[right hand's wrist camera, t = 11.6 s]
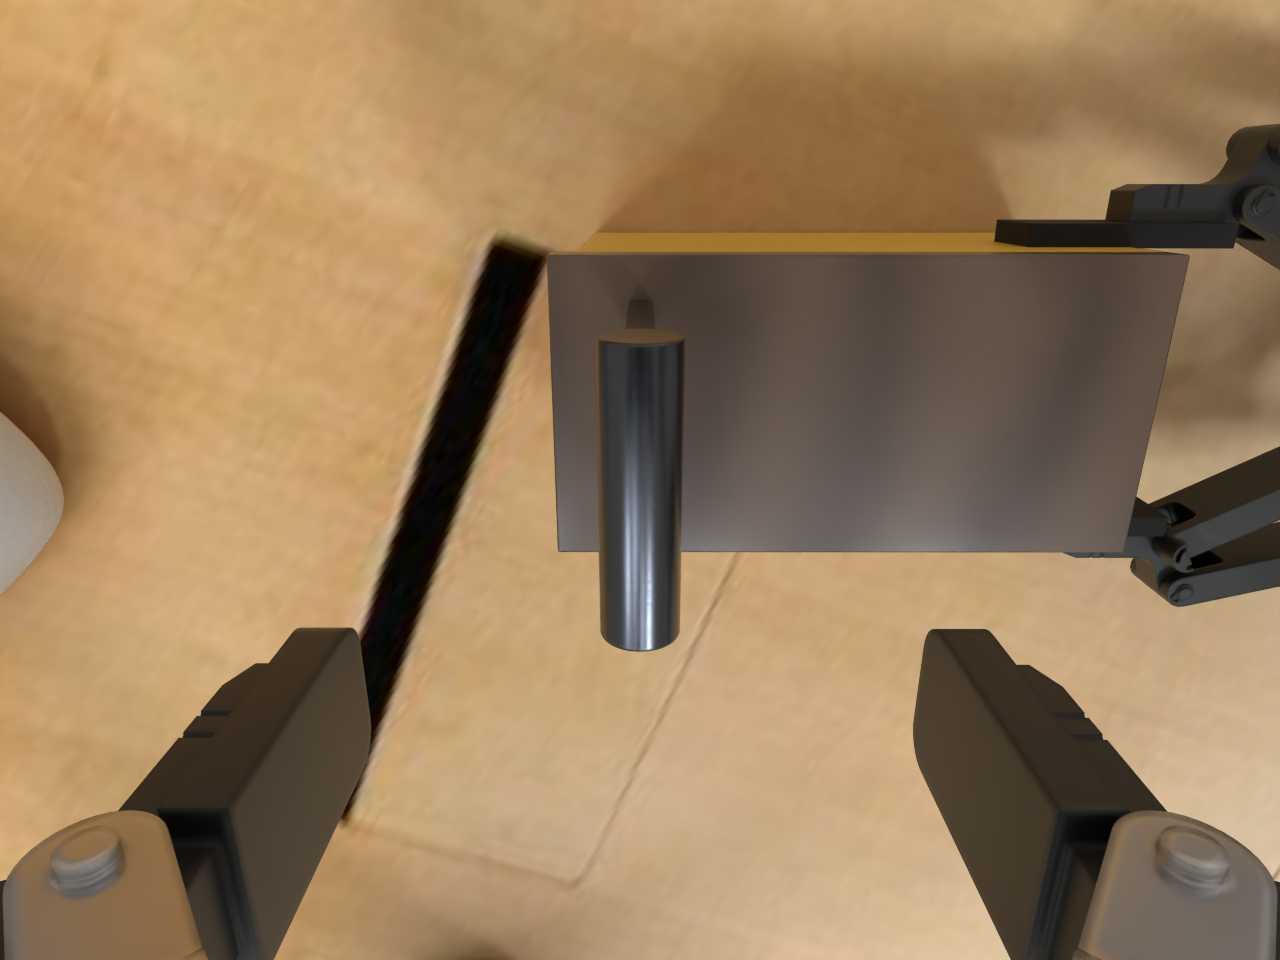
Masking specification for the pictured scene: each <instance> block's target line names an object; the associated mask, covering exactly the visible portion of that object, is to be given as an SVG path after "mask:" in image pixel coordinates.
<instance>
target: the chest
mask: <svg viewBox="0 0 1280 960" xmlns="http://www.w3.org/2000/svg"><path fill="white" fill-rule="evenodd" d="M994 238H995V233H595V234H594V235H593V236H592V237H591V238H590V239H589V240H588V241H587V242H586V243H585V245H584V246H583V247H582V248H581V249H580V250H579V251H578V252H1162V251H1155V250H1147V249H1140V248H1132V247H1024V246H1018V245H1012V244H1006V243H1000V242H994Z"/></svg>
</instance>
